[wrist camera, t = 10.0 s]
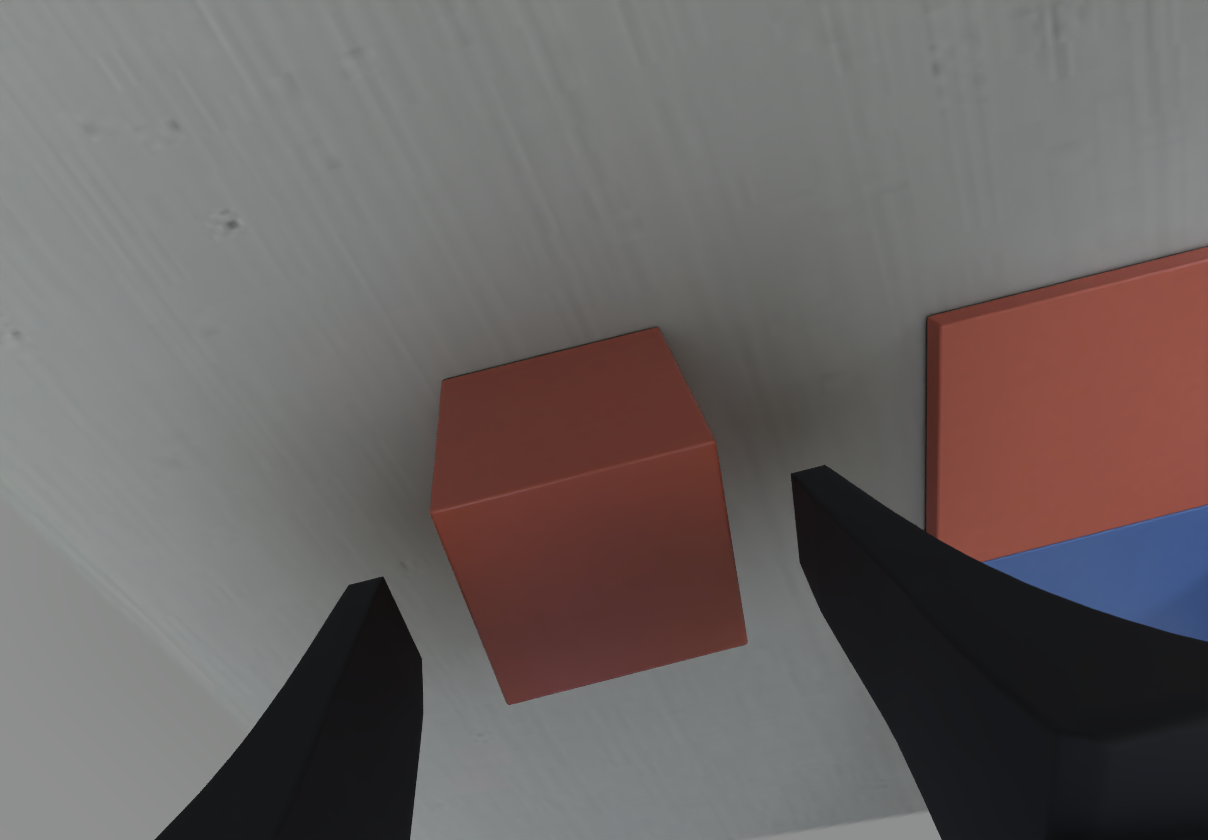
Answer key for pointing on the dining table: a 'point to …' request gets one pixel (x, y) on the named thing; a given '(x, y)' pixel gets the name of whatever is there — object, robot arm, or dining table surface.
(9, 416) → the dining table surface
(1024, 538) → the board
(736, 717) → the dining table surface
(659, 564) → the red block
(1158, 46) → the dining table surface
